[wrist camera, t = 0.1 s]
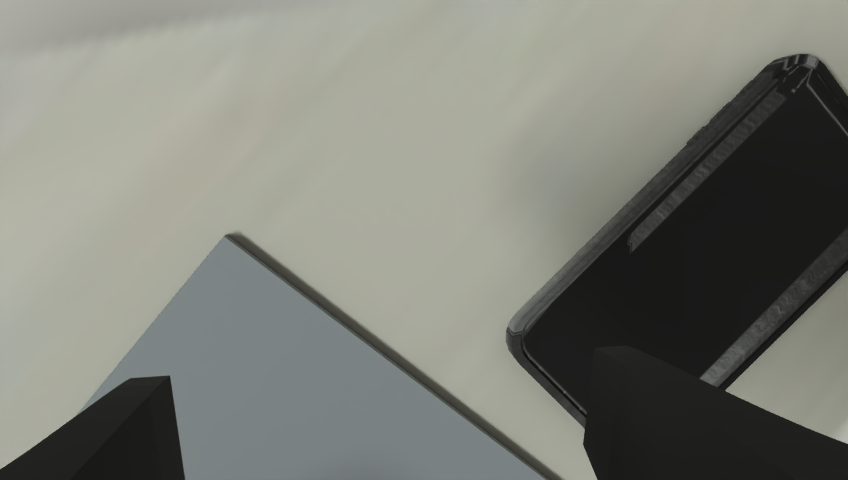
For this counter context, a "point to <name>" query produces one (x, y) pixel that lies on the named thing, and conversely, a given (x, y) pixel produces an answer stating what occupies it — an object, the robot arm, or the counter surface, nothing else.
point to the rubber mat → (296, 389)
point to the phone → (707, 244)
